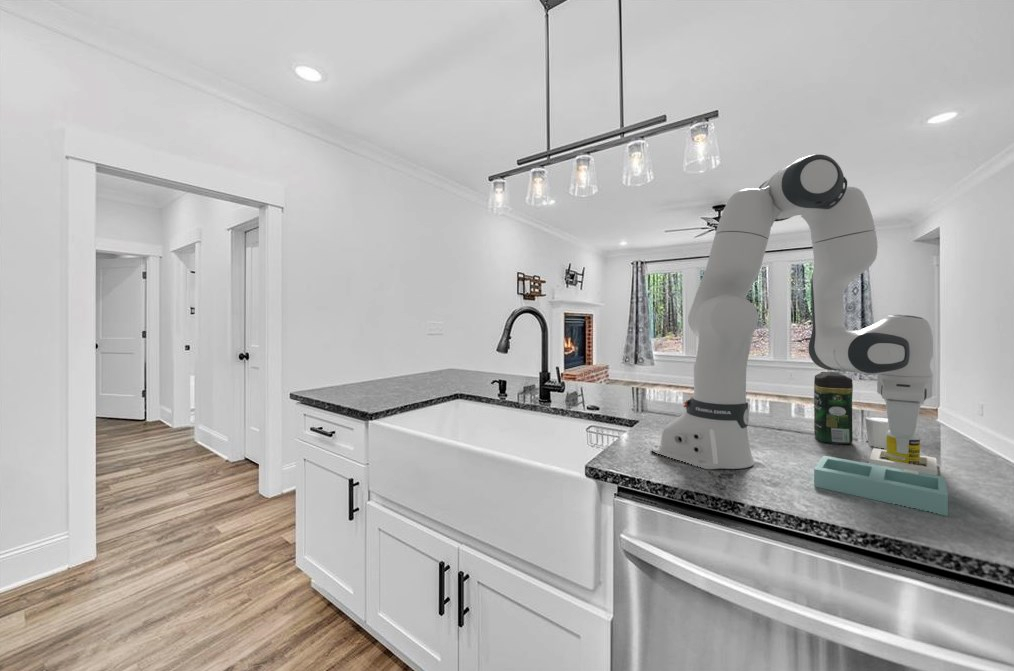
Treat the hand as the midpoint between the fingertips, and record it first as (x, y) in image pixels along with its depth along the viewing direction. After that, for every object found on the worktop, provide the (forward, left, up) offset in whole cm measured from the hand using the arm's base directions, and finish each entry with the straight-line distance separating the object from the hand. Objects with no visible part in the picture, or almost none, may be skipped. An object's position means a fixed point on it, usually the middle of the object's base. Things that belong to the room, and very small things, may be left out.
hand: (903, 448), depth 91 cm
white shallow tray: (0, 0, -4) cm, 4 cm away
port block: (-3, -22, -4) cm, 23 cm away
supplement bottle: (0, 0, -4) cm, 4 cm away
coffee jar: (-14, +13, -4) cm, 19 cm away
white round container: (-4, +15, -4) cm, 16 cm away
